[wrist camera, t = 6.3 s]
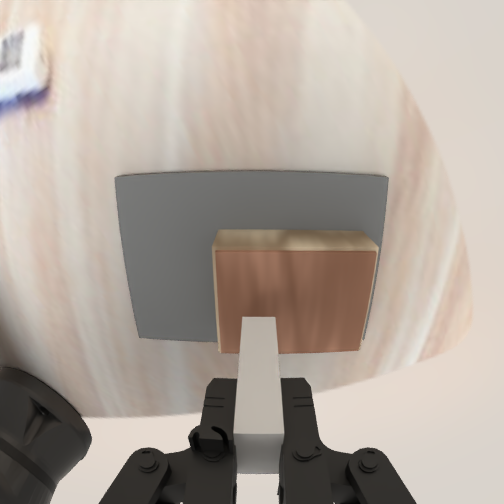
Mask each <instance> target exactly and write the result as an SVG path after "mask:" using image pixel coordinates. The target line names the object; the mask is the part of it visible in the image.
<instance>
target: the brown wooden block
mask: <svg viewBox="0 0 504 504" xmlns="http://www.w3.org/2000/svg"><path fill="white" fill-rule="evenodd" d="M378 250H379V247H378V246H377V245H376V244H375V243H374V242H373V241H372V240H371V239H370V238H369V237H368V236H367V235H366V234H365V233H364V232H363V231H342V230H255V229H219V230H218V232H217V235H216V237H215V240H214V242H213V245H212V258H213V277H214V294H215V309H216V324H217V338H218V351H219V352H221V353H240V341H241V329H242V317H275V319H276V331H277V343H278V354H289V353H322V352H342V351H358V350H360V347H361V342H362V338H363V333H364V329H365V324H366V319H367V314H368V309H369V304H370V299H371V294H372V288H373V282H374V276H375V270H376V264H377V257H378Z"/></svg>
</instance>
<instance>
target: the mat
mask: <svg viewBox="0 0 504 504" xmlns="http://www.w3.org/2000/svg"><path fill="white" fill-rule="evenodd" d="M388 179H389V177H386V176H377V175H363V174H347V173H328V172H302V171H200V172H173V173H154V174H138V175H125V176H117V177H115V188H116V199H117V209H118V218H119V226H120V234H121V241H122V248H123V255H124V261H125V268H126V274H127V280H128V285H129V291H130V296H131V301H132V306H133V311H134V316H135V321H136V325H137V330H138V334H139V338H149V339H162V340H178V341H197V342H218V338H217V324H216V309H215V294H214V277H213V258H212V245H213V242H214V240H215V237H216V235H217V232H218V230H219V229H255V230H342V231H363V232H364V233H365V234H366V235H367V236H368V237H369V238H370V239H371V240H372V241H373V242H374V243H375V244H376V245H377V246H378V247H379V250H378V257H377V264H376V270H375V276H374V282H373V288H372V294H371V299H370V304H369V309H368V314H367V319H366V324H365V329H364V333H363V338H362V340H364V337H365V333H366V328H367V324H368V319H369V314H370V309H371V304H372V299H373V294H374V288H375V283H376V277H377V271H378V265H379V258H380V251H381V244H382V237H383V229H384V221H385V212H386V202H387V191H388Z"/></svg>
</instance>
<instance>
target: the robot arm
mask: <svg viewBox="0 0 504 504" xmlns="http://www.w3.org/2000/svg"><path fill="white" fill-rule="evenodd" d="M188 439H189V442H190V446H191V447H190V448H188V449H186V450H184V451H180V452H175V453H169V454H164V453H163V452H161V451H159V450H158V449H155V448H141V449H139V450H137V451H135V452H134V453H133V454H132V455H131V456H130V457H129V459H128V460H127V462H126V463H125V465H124V466H123V468H122V469H121V471H120V472H119V474H118V475H117V477H116V478H115V480H114V481H113V483H112V484H111V486H110V487H109V489H108V490H107V492H106V493H105V495H104V496H103V498H102V499H101V501H100V502H99V504H180V502H183V504H236V495H237V483H236V479H237V473H240V474H241V473H242V474H279V487H278V493H277V495H279V504H333V502H334V503H335V504H416V502H415V500H414V499H413V497H412V496H411V494H410V492H409V491H408V489H407V488H406V486H405V485H404V483H403V482H402V480H401V478H400V477H399V475H398V474H397V472H396V470H395V469H394V467H393V466H392V464H391V463H390V461H389V459H388V458H387V456H386V455H385V454H384V453H383V452H382V451H380V450H378V449H375V448H362V449H359V450H358V451H356V452H354V453H353V454H349V453H342V452H337V451H334V450H331V449H329V448H327V447H326V446H325V445H324V444H323V443H322V441H321V440H320V437H319V433H318V427H317V421H316V415H315V409H314V404H313V399H312V392H311V386H310V385H309V384H308V383H307V381H306V380H305V379H304V378H280V368H279V356H278V343H277V331H276V319H275V317H242V329H241V341H240V354H239V367H238V379H227V378H213V380H212V381H211V382H210V383H209V385H208V386H207V389H206V395H205V400H204V407H203V411H202V417H201V423H200V425H199V426H196V427H195V428H194V429H193V430H192V431H191V432H190V434H189V436H188ZM91 441H92V437H91V434H90V431H89V428H88V427H87V425H86V423H85V422H84V420H83V419H82V418H81V417H80V415H79V414H78V413H77V412H76V411H75V410H74V409H73V408H72V407H71V406H70V405H69V404H68V403H67V402H66V401H65V400H64V399H63V398H62V397H61V396H59V395H58V394H57V393H56V392H55V391H53V390H52V389H51V388H49V387H48V386H46V385H45V384H44V383H42V382H41V381H39V380H37V379H36V378H34V377H32V376H31V375H29V374H27V373H25V372H22V371H20V370H17V369H13V368H1V369H0V504H50V501H51V499H52V496H53V494H54V491H55V489H56V487H57V484H58V483H59V481H60V480H61V479H62V478H63V477H64V476H65V475H66V474H67V473H69V472H70V471H71V469H72V468H73V467H74V466H75V465H76V464H77V463H78V462H79V461H80V460H82V459H83V458H84V457H85V455H86V454H87V451H88V449H89V447H90V444H91Z"/></svg>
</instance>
